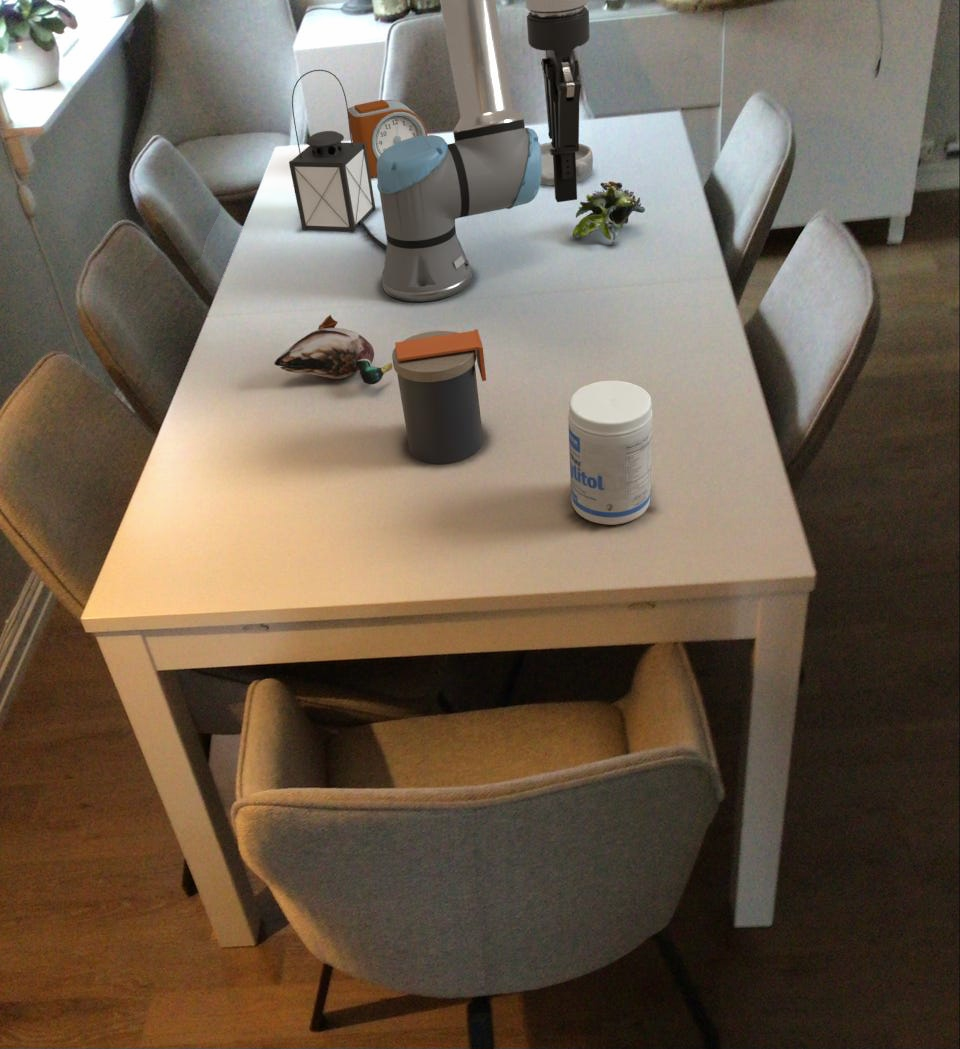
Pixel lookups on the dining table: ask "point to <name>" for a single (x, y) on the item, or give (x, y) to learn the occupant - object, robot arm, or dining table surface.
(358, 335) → the decorative duck model
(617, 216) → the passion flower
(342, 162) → the lantern
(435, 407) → the travel mug
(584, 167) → the dish
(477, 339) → the lid slider
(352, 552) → the dining table surface
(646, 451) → the supplement tub
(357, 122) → the alarm clock
